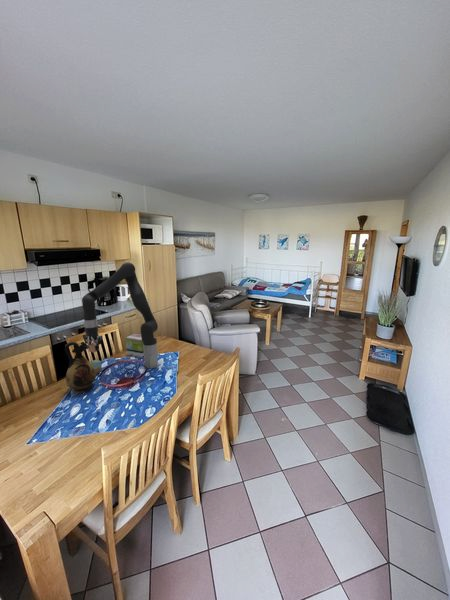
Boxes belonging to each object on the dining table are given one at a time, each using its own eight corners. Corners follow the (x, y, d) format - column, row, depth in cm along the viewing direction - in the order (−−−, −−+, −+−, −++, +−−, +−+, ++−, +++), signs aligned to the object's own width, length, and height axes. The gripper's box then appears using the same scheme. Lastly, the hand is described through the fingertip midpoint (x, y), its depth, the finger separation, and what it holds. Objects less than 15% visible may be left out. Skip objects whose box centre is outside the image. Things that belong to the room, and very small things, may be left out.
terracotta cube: (99, 349, 163) (98, 343, 162) (94, 352, 159) (93, 346, 158) (93, 348, 164) (93, 342, 163) (88, 351, 160) (87, 345, 159)
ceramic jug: (98, 379, 156) (93, 335, 150) (95, 392, 142) (89, 345, 135) (67, 384, 150) (61, 339, 143) (61, 399, 136) (53, 349, 129)
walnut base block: (101, 373, 164) (101, 367, 163) (92, 375, 161) (92, 370, 160) (99, 369, 168) (99, 364, 167) (91, 372, 165) (90, 367, 164)
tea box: (126, 355, 191) (124, 337, 188) (134, 350, 200) (133, 333, 197) (142, 357, 187) (141, 339, 183) (150, 352, 196) (149, 335, 193)
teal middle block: (101, 366, 165) (100, 361, 164) (94, 369, 160) (93, 364, 159) (97, 364, 167) (96, 359, 166) (89, 367, 163) (89, 362, 162)
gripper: (104, 324, 159) (107, 348, 163) (86, 322, 163) (89, 346, 166) (96, 328, 152) (98, 353, 156) (77, 326, 155) (80, 351, 159)
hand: (93, 349), depth 161 cm, fingers closed on terracotta cube, 4 cm apart
